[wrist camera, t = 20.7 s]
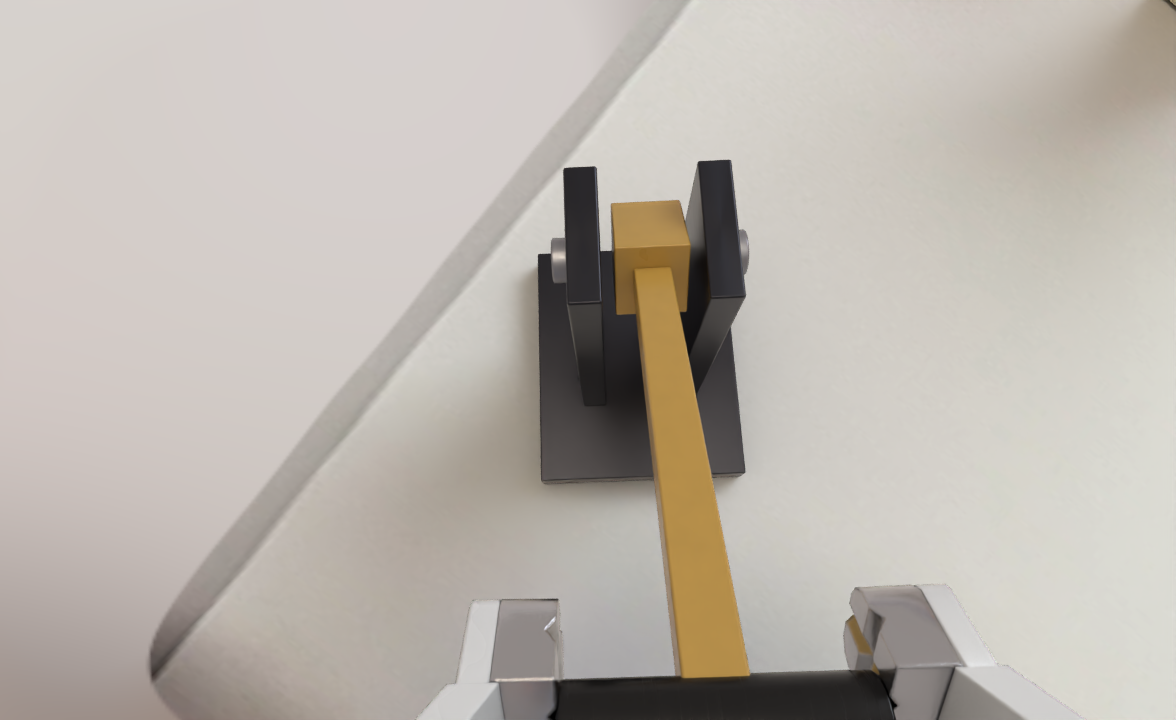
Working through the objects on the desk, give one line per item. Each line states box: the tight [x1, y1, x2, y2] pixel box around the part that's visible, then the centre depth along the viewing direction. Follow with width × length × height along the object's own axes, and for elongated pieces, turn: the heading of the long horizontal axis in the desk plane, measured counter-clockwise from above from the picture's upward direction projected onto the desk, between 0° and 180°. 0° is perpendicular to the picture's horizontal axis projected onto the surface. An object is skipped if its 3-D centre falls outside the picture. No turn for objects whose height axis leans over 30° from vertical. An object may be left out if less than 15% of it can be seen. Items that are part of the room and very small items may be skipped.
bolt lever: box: [556, 200, 896, 720], centre depth 16 cm, size 16×5×2 cm
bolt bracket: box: [538, 160, 749, 484], centre depth 26 cm, size 11×9×14 cm
